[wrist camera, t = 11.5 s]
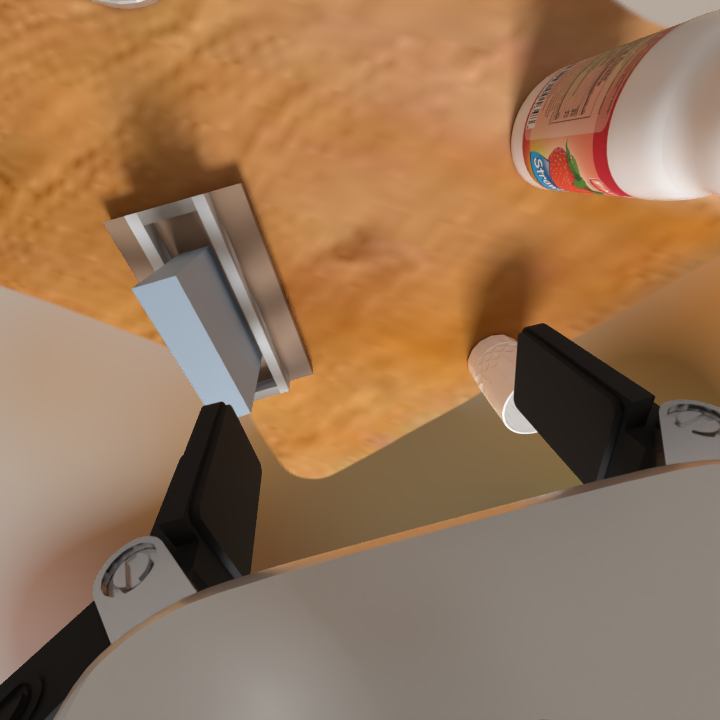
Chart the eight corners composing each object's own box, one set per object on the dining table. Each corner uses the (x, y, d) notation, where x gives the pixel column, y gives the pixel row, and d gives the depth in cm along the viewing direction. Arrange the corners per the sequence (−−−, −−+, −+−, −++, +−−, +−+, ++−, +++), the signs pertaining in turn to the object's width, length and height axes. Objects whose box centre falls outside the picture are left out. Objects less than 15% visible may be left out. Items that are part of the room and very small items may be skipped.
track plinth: (111, 219, 30) (90, 225, 27) (243, 182, 30) (236, 184, 27) (214, 395, 40) (207, 414, 37) (312, 367, 40) (313, 383, 37)
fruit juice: (620, 73, 30) (1866, -289, 6) (581, 191, 35) (1208, 247, 11) (523, 62, 29) (1659, -466, 5) (496, 186, 33) (1001, 241, 9)
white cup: (459, 340, 42) (501, 385, 33) (521, 321, 42) (579, 362, 33) (465, 390, 46) (503, 442, 37) (521, 373, 46) (572, 421, 37)
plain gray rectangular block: (178, 254, 31) (131, 288, 22) (210, 244, 31) (175, 275, 22) (235, 363, 37) (216, 423, 28) (262, 355, 37) (250, 413, 28)
